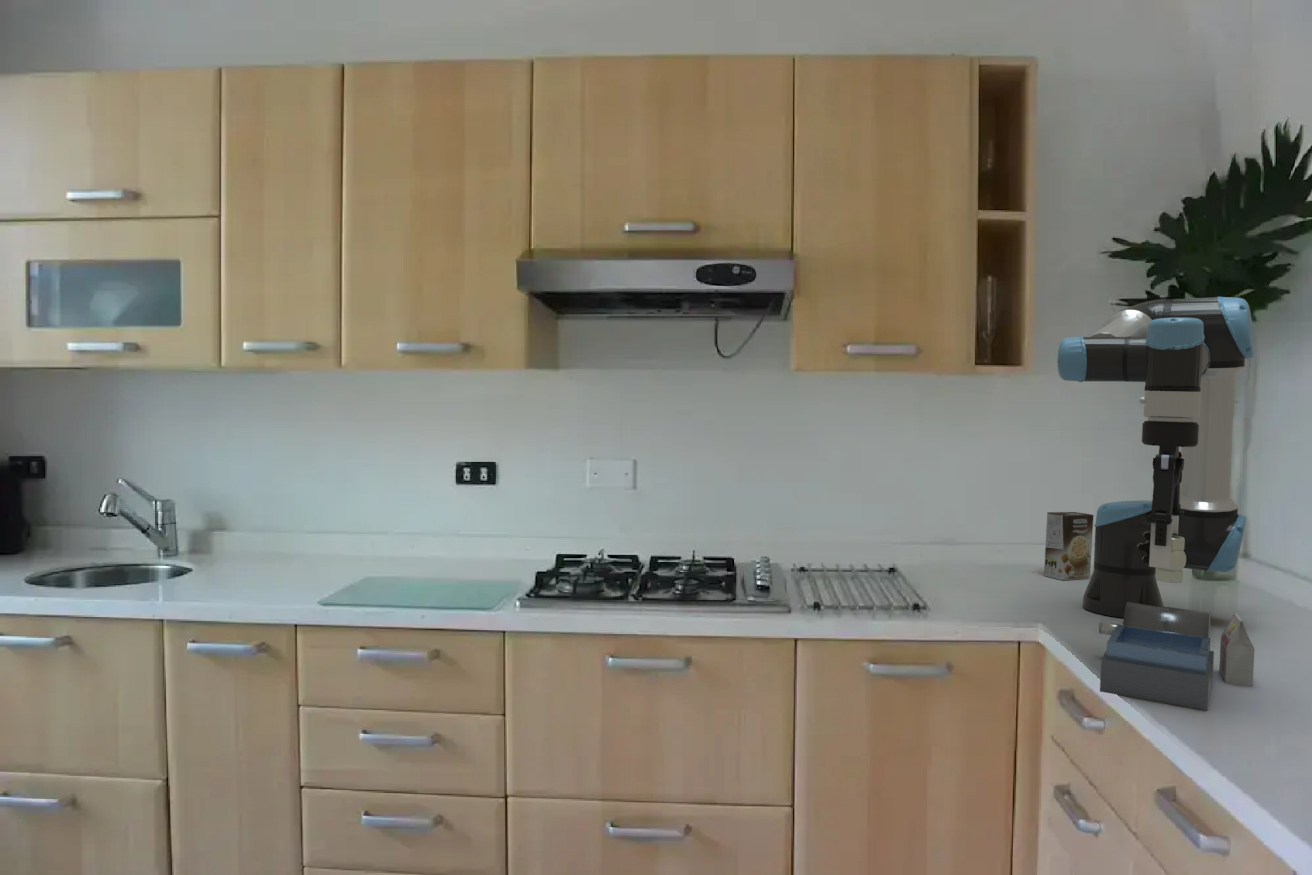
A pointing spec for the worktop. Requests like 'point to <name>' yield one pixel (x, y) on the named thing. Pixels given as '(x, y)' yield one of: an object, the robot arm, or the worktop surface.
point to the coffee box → (1068, 545)
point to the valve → (1175, 560)
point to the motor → (1159, 656)
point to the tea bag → (1236, 654)
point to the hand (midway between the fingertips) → (1163, 561)
